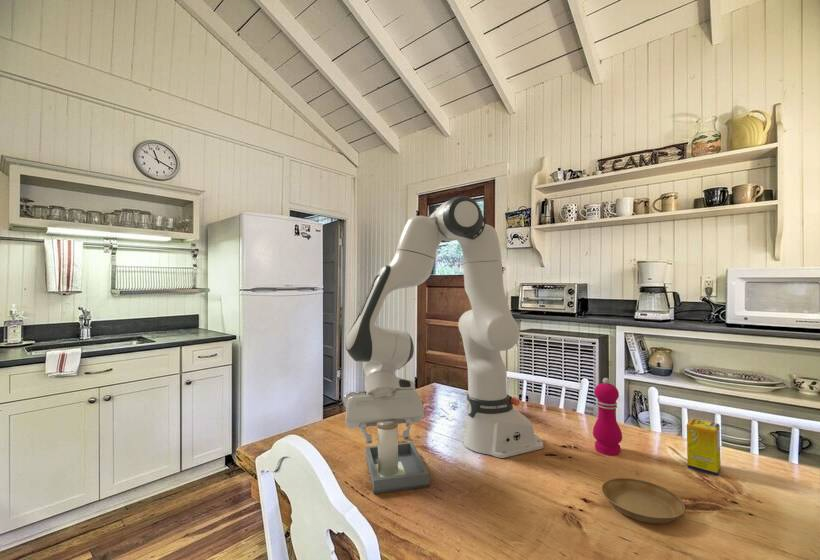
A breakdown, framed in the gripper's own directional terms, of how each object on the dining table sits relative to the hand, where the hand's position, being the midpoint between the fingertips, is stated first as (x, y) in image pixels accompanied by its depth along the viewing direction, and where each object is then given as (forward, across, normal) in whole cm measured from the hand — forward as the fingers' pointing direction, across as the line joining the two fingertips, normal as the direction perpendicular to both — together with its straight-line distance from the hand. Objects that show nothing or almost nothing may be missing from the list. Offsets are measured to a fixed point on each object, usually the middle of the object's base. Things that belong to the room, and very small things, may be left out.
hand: (388, 440), depth 93 cm
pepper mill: (+7, +61, +5) cm, 62 cm away
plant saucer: (+24, +49, -12) cm, 56 cm away
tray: (+5, +2, +7) cm, 9 cm away
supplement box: (+17, +77, -5) cm, 79 cm away
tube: (+5, 0, +6) cm, 8 cm away
